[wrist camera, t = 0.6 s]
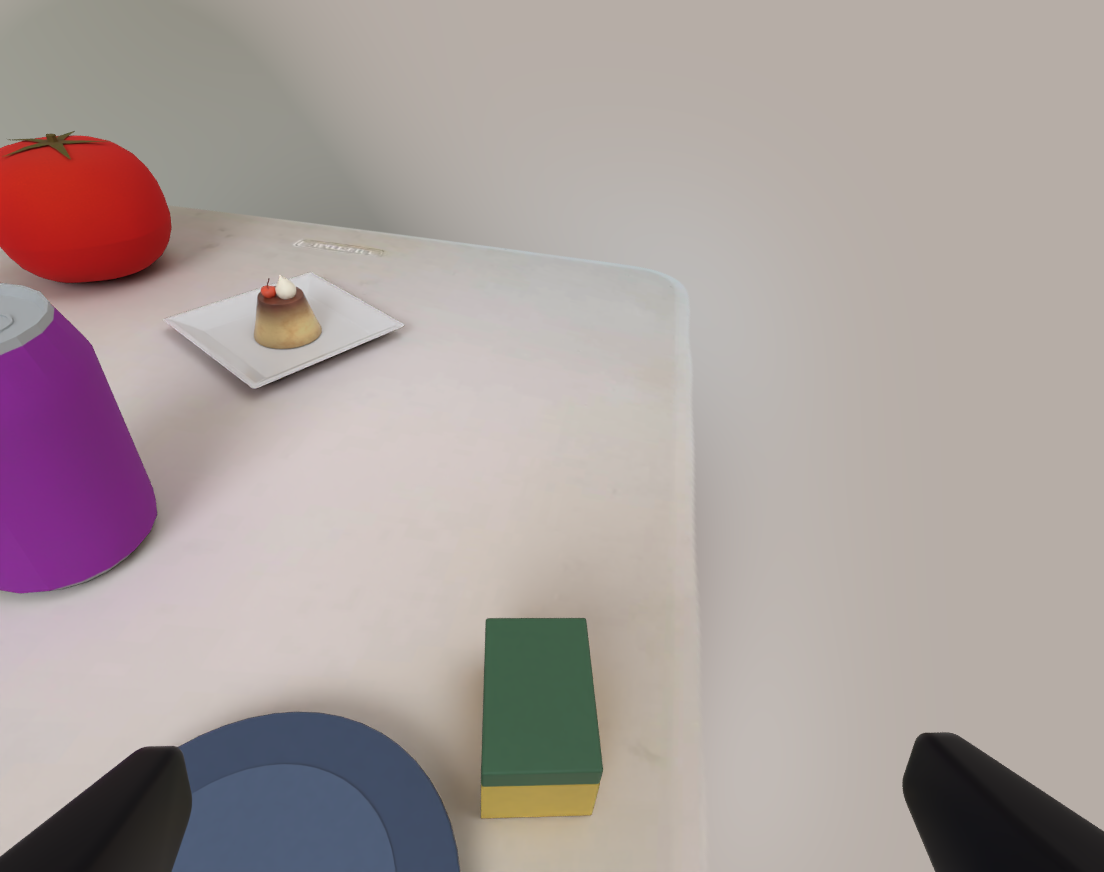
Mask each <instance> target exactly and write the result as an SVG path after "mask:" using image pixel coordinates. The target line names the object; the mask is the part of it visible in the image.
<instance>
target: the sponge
mask: <svg viewBox="0 0 1104 872" xmlns="http://www.w3.org/2000/svg"><path fill="white" fill-rule="evenodd" d="M602 772H603V765H602V756H601V747H600V738H599V729H598V721H597V712H596V703H595V694H594V685H593V676H592V667H591V658H590V650H589V641H588V632H587V623H586V619H585V618H488V619H486V628H485V662H484V696H483V729H482V763H481V818H511V817H545V816H579V815H592V812H593V808H594V804H595V800H596V797H597V793H598V789H599V785H600V780H601V776H602Z"/></svg>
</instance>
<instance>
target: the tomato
mask: <svg viewBox="0 0 1104 872" xmlns="http://www.w3.org/2000/svg"><path fill="white" fill-rule="evenodd" d="M73 132H74V131H73ZM73 132H70V133H67V134H64V135H61V136H56V135H55V134H46V137H42V138H35V139H17V140H25V141H21V142H18V143H15V144H11V145H7V146H4V147H2V148H0V247H1V248H2V249H3V250H4V251H5V253H6V254H7V255H8V256H9V257H10V258H11V259H12V260H14V261H15V262H16V263H17V264H18V265H19V266H21V267H22V268H23V269H25V270H27V271H29V272H31V273H33V274H35V275H37V276H39V277H42V278H45V279H48V280H53V281H57V282H64V283H78V282H93V281H103V280H110V279H115V278H120V277H124V276H127V275H131V274H133V273H136V272H139V271H141V270H143V269H145V268H147V267H148V266H150V265H151V264H152V263H153V262H155V261H156V260H157V259H158V258H159V257H160V256H161V255H162V254H163V252H164V250H165V248H166V247H167V244H168V242H169V239H170V233H171V217H170V212H169V209H168V206H167V203H166V200H165V197H164V195H163V193H162V191H161V189H160V186H159V185H158V182H157V181H156V179H155V178H154V176H153V175H152V174H151V172H150V171H149V170H148V168H147V167H146V166H145V165H144V164H143V163H142V162H141V161H140V160H139V159H138V158H137V157H136V156H135V155H134V154H132V153H131V152H129V151H127V150H125V149H124V148H122V147H120V146H118V145H117V144H115V143H112V142H110V141H107V140H102V139H98V138H93V137H89V136H69V135H70V134H71V133H73Z"/></svg>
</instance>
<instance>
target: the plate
mask: <svg viewBox="0 0 1104 872" xmlns="http://www.w3.org/2000/svg"><path fill="white" fill-rule="evenodd" d="M178 748H179V749H180V750H181V751H182V753H183V756H184V760H185V765H186V769H187V774H188V779H189V784H190V788H191V793H192V809H191V814H190V818H189V822H188V825H187V828H186V831H185V834H184V837H183V839H182V842H181V845H180V848H179V851H178V854H177V857H176V860H175V863H174V866H173V869H172V872H460V865H459V857H458V849H457V845H456V841H455V837H454V833H453V830H452V826H451V822H450V820H449V817H448V815H447V812H446V810H445V807H444V805H443V802H442V800H441V798H440V796H439V794H438V792H437V791H436V789H435V787H434V785H433V784H432V782H431V780H430V778H429V777H428V776H427V775H426V773H425V772H424V771H423V770H422V768H421V767H420V766H419V764H418V763H417V762H416V761H415V760H414V759H413V758H412V757H411V756H410V755H409V754H408V753H407V752H406V751H405V750H404V749H403V748H402V747H401V746H400V745H398V744H397V743H395V742H394V741H393V740H391V739H390V738H388V737H387V736H385V735H384V734H382V733H381V732H379V731H377V730H375V729H373V728H371V727H369V726H367V725H365V724H363V723H360V722H357V721H353V720H350V719H347V718H344V717H341V716H335V715H330V714H324V713H315V712H286V713H273V714H268V715H263V716H257V717H252V718H248V719H244V720H241V721H238V722H234V723H231V724H228V725H224V726H222V727H220V728H217V729H215V730H212V731H210V732H207V733H205V734H203V735H200V736H198V737H196V738H194V739H192V740H190V741H189V742H187V743H185V744H183V745H181V746H179V747H178Z"/></svg>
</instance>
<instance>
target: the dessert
mask: <svg viewBox="0 0 1104 872" xmlns="http://www.w3.org/2000/svg"><path fill="white" fill-rule="evenodd" d="M268 282H269V279H268ZM163 320H164V321H165V322H166V323H167V324H169V325H170V326H171V327H173V328H174V329H175V330H177V331H178V332H179V333H181V334H182V335H183V336H184V337H186V338H187V339H188V340H190V341H191V342H192V343H194V344H195V345H196V346H197V347H199V348H200V349H201V350H203V351H204V352H205V353H207V354H208V355H209V356H211V357H212V358H213V359H214V360H216V361H217V362H218V363H220V364H221V365H222V366H224V367H225V368H226V369H228V370H229V371H230V372H231V373H233V374H234V375H235V376H237V377H238V378H239V379H241V380H242V381H243V382H244V383H246V384H247V385H248V386H250V387H251V388H253V389H256V388H259V387H261V386H264V385H266V384H268V383H271V382H273V381H276V380H278V379H280V378H283V377H285V376H287V375H290V374H292V373H295V372H297V371H299V370H302V369H304V368H306V367H309V366H311V365H314V364H316V363H318V362H321V361H323V360H325V359H328V358H330V357H333V356H335V355H337V354H340V353H342V352H344V351H347V350H349V349H352V348H354V347H356V346H359V345H361V344H363V343H366V342H368V341H370V340H373V339H375V338H378V337H380V336H382V335H385V334H387V333H389V332H392V331H394V330H397V329H399V328H401V327H403V326H405V324H403V323H401V322H399V321H398V320H396V319H394V318H392V317H390V316H389V315H387V314H385V313H383V312H382V311H380V310H378V309H376V308H374V307H373V306H371V305H369V304H367V303H366V302H364V301H362V300H360V299H359V298H357V297H355V296H353V295H351V294H350V293H348V292H346V291H344V290H343V289H341V288H339V287H337V286H335V285H334V284H332V283H330V282H328V281H327V280H325V279H323V278H321V277H319V276H318V275H316V274H314V273H312V272H308V273H305V274H302V275H299V276H296V277H293V278H289V279H286V278H284V277H283V276H281V275H279V280H278V282H277V283H274V284H271V285H268V283H267V286H263V287H261V288H258V289H255V290H252V291H249V292H245V293H242V294H239V295H236V296H233V297H230V298H227V299H224V300H220V301H217V302H214V303H211V304H208V305H205V306H202V307H198V308H195V309H192V310H189V311H186V312H183V313H180V314H176V315H173V316H170V317H167V318H164V319H163Z"/></svg>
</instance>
